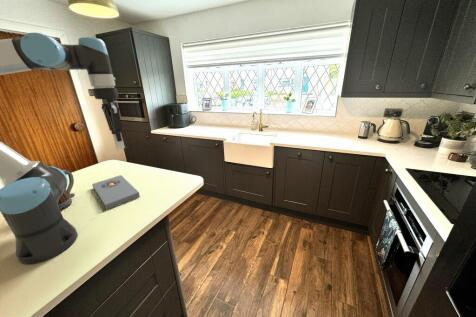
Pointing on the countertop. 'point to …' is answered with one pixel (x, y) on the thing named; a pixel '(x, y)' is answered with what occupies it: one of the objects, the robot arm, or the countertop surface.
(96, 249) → the countertop surface
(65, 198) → the mug
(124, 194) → the plate
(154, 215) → the countertop surface
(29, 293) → the countertop surface
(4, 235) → the countertop surface
